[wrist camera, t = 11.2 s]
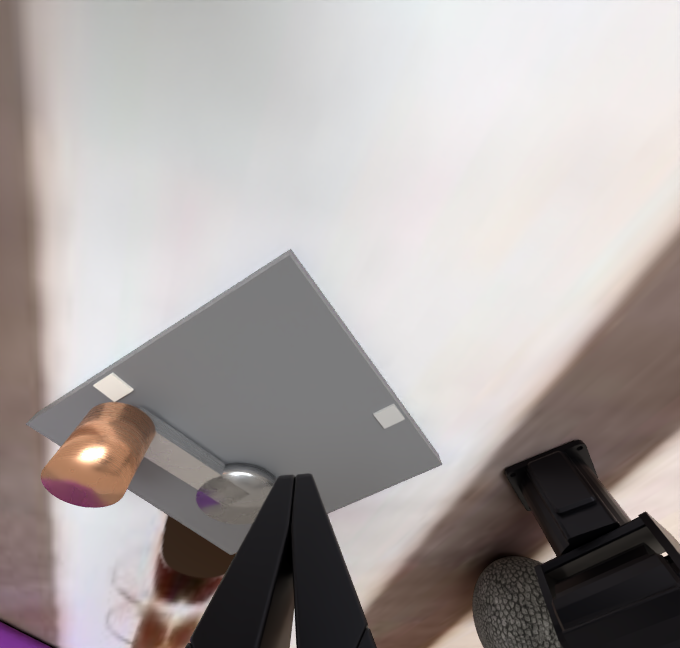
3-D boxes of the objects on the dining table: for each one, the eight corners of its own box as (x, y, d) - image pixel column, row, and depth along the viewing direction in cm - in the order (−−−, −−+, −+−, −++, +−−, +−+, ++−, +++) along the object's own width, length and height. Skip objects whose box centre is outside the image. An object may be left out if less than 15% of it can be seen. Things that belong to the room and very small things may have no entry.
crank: (295, 490, 27) (291, 560, 23) (240, 521, 29) (226, 591, 24) (132, 372, 21) (84, 437, 17) (72, 419, 22) (13, 490, 18)
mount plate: (438, 454, 28) (442, 466, 27) (233, 543, 32) (230, 556, 31) (290, 249, 19) (289, 256, 18) (36, 413, 24) (24, 426, 23)
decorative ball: (449, 587, 39) (486, 718, 31) (469, 537, 34) (520, 677, 26) (534, 583, 40) (595, 711, 31) (566, 533, 35) (648, 669, 26)
